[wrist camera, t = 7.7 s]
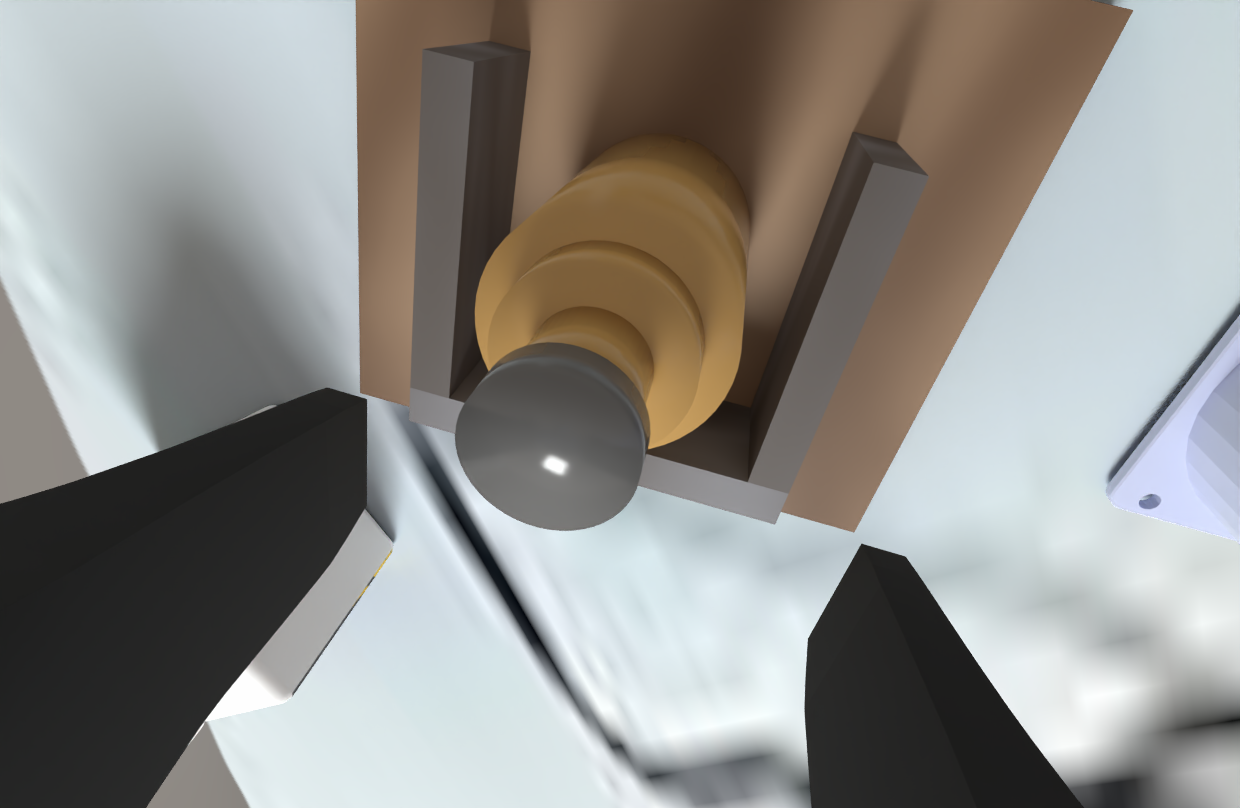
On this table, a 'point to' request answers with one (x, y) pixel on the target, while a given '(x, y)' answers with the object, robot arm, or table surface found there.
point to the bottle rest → (768, 173)
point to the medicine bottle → (309, 622)
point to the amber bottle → (606, 331)
